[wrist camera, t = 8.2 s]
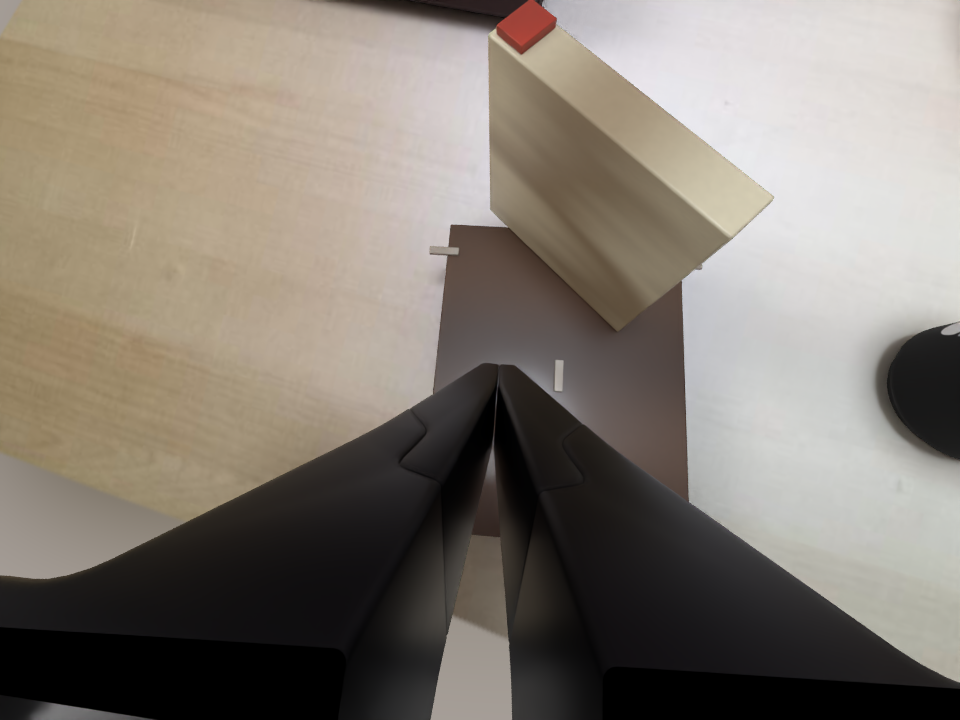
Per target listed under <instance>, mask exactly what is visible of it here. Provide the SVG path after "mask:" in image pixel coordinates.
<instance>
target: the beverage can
mask: <svg viewBox="0 0 960 720" xmlns="http://www.w3.org/2000/svg"><path fill="white" fill-rule="evenodd" d="M887 388H888V394H889V398H890V401H891V403H892V406H893V408H894V410H895V412H896V413H897V415H898V417H899V418H900V419H901V421H902V422H903V423H904V424H905V425H906V426H907V427H908V428H909V429H910V430H911V431H912V432H913V433H914V434H916V435H917V436H918V437H920V438H921V439H923V440H924V441H925V442H926V443H928V444H929V445H931V446H932V447H933V448H935V449H937V450H939V451H940V452H942V453H944V454H946V455H949V456H951V457H954V458H957V459H960V322H957V323H952V324H948V325H944V326H940V327H936V328H932V329H928V330H925V331H923V332H921V333H919V334H917V335H915V336H914V337H912V338H911V339H910V340H908V341H907V342H906V343H905V344H904V345H903V346H902V348H901V349H900V351H899V352H898V354H897V355H896V357H895V359H894V360H893V362H892V364H891V366H890V369H889V372H888V378H887Z"/></svg>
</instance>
